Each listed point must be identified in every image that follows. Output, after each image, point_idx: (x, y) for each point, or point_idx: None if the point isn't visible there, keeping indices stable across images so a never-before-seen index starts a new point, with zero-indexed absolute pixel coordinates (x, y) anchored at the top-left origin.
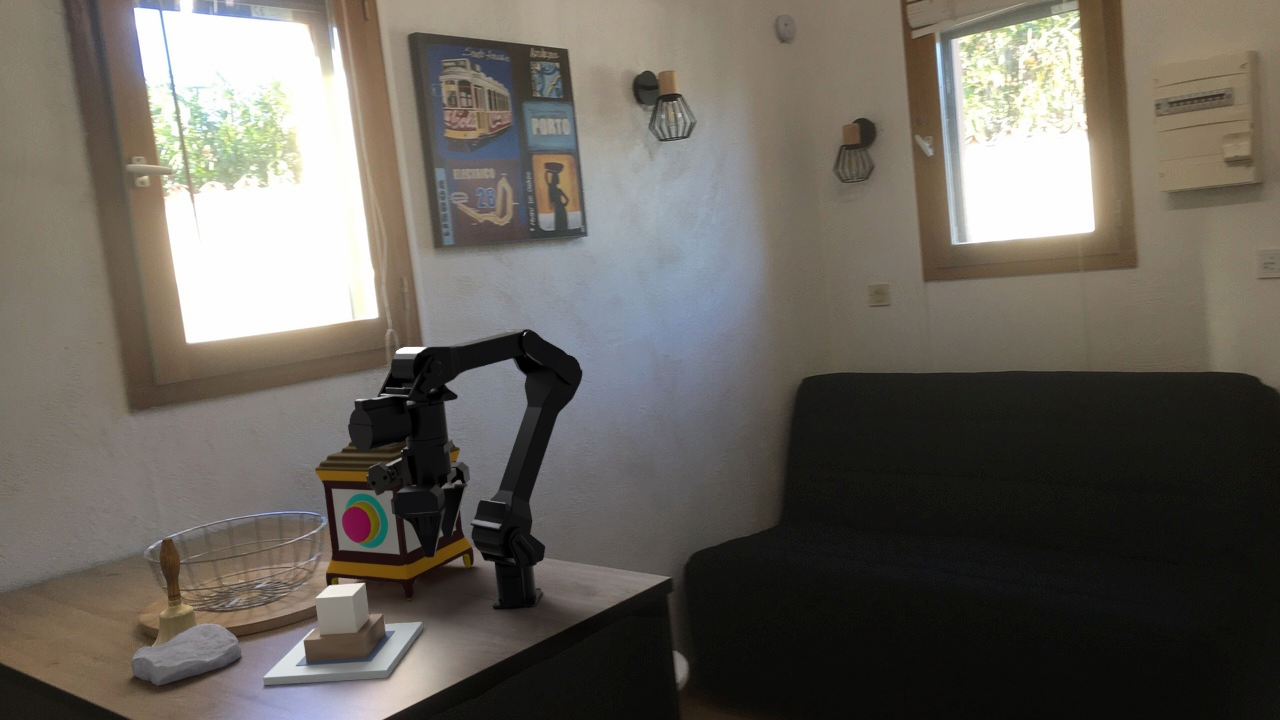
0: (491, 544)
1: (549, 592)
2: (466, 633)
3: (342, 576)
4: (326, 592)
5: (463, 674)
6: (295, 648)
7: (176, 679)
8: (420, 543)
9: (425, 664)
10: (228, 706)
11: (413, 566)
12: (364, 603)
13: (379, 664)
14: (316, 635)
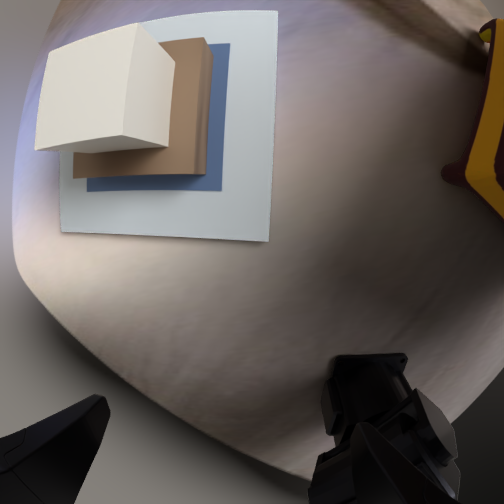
0: (334, 472)
1: None
2: (224, 328)
3: (491, 41)
4: (78, 52)
5: (82, 334)
6: (176, 19)
7: None
8: (51, 416)
9: (105, 279)
10: (45, 45)
11: (497, 191)
12: (126, 143)
13: (77, 212)
14: None
